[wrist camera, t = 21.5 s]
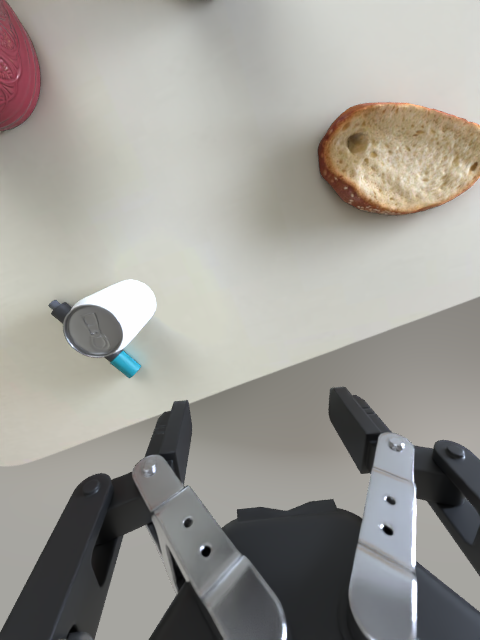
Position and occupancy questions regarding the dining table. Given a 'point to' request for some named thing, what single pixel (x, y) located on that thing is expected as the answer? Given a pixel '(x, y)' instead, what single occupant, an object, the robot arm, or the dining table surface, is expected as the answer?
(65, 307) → the marker
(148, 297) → the can
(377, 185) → the bread slice
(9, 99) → the kitchen canister
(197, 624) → the robot arm
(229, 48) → the dining table surface
